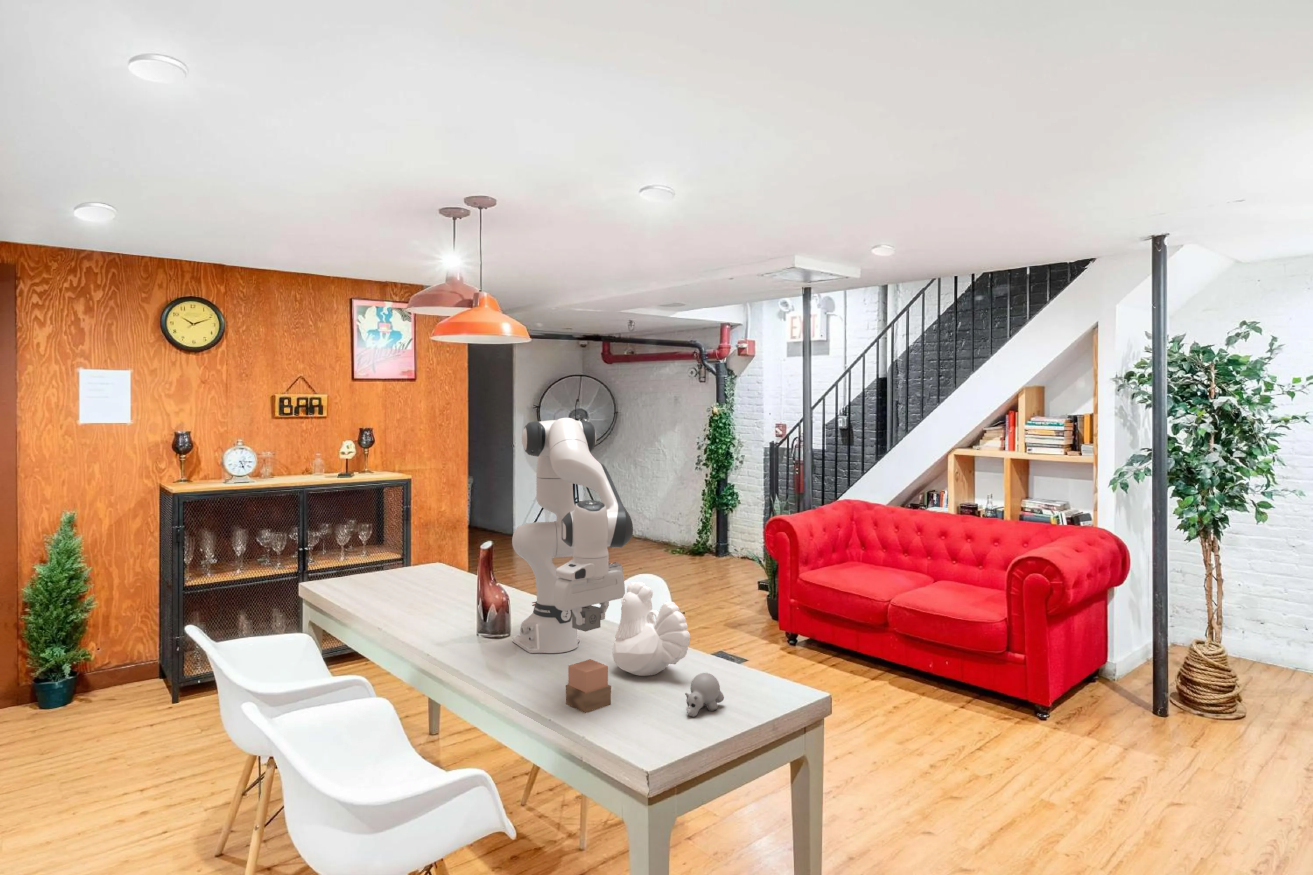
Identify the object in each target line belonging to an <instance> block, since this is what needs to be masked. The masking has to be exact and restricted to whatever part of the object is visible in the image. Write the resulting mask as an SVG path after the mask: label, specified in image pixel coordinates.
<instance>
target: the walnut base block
mask: <svg viewBox="0 0 1313 875" xmlns="http://www.w3.org/2000/svg"><path fill="white" fill-rule="evenodd" d="M565 704H566V705H567V706H569V707H571V708H573V709H575V710H577V711H579V712H582V713H584V714H588V713H591V712H594V711H596V710H600V709H602V708H605V707H608V706H611V705H612V685H610V684H608V686H606V687H602V688H599V689H596V690H593V691H590V692H587V693H585V692H583V691H581V690H578V689H576V688H574V687H571V686H569V685H568V684H565Z"/></svg>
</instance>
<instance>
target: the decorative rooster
mask: <svg viewBox="0 0 1313 875" xmlns="http://www.w3.org/2000/svg"><path fill="white" fill-rule="evenodd" d="M653 593H654V592H653V590H652V588H651V587H650V586H647V584H646V583H644V582H641V581H637V582H634V581H631V582H630V583H628V585H627V588H626V592H625V594H624V596H623V598H621V599H620V600H621V602H620V603H621V608H620V610H621V613H620V620H619V625H618V628H617V631H616V634H615V636H614V637H615V640H614V642H613V647H612V658H613V661H614V664H616V666H617V667H618V668H620V669H621V670H623V671H624V672H628V673H630V674H632V675H634V676H635V675H636V676H640V677H647V676H648V677H649V676H656V675H657V674H659V673H660V672H662V671H664V670H665V669H666V668H667V667H668V666H669V665H676V664H677V663H679V662H680V660H683V659H684V658H685V657H686V655H687V654H688V650H689V648H688V647H690V643H691V642H690V640H691V634H690V632H689V630H688V628H689V626H688V623H687V619H686V616H684V614H683V613H682V612H681V611H680V608H679V606H678V605H677V604H676V603H675V602H674V601H666V602H664V603H662V605H661V606H660V608H659V611H658V610H657V609H653V603H652V598H653V595H654V594H653ZM654 617H655V619H654Z"/></svg>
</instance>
